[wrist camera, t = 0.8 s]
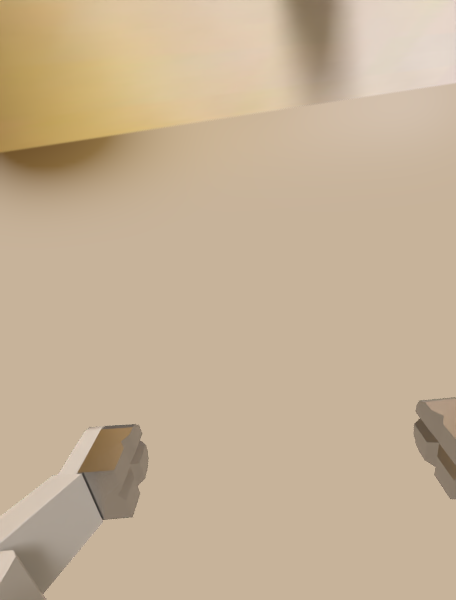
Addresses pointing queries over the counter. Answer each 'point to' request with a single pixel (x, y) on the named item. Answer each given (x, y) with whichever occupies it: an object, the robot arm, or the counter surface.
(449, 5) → the counter surface
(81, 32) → the counter surface
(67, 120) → the counter surface
